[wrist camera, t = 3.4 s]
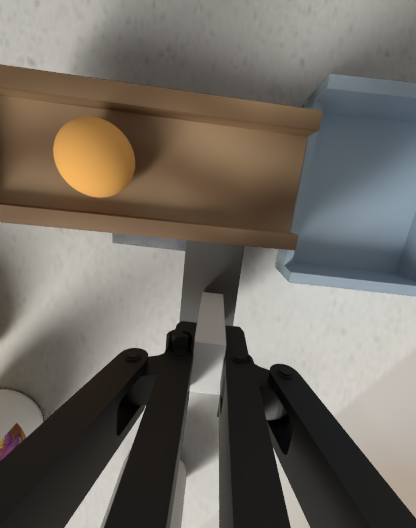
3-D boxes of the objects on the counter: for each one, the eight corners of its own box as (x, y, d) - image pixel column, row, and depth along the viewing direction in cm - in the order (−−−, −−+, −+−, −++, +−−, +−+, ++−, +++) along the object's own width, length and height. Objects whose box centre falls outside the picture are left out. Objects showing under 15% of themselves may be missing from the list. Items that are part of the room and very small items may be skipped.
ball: (92, 156, 10) (160, 171, 14) (58, 82, 11) (131, 113, 14) (57, 210, 13) (123, 212, 16) (30, 147, 13) (99, 161, 16)
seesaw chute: (264, 339, 20) (276, 363, 17) (5, 322, 19) (-29, 345, 16) (303, 123, 16) (327, 107, 13) (-21, 79, 15) (-73, 49, 12)
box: (397, 280, 23) (490, 321, 15) (275, 267, 23) (305, 300, 15) (448, 117, 19) (601, 61, 12) (304, 102, 20) (362, 36, 12)
